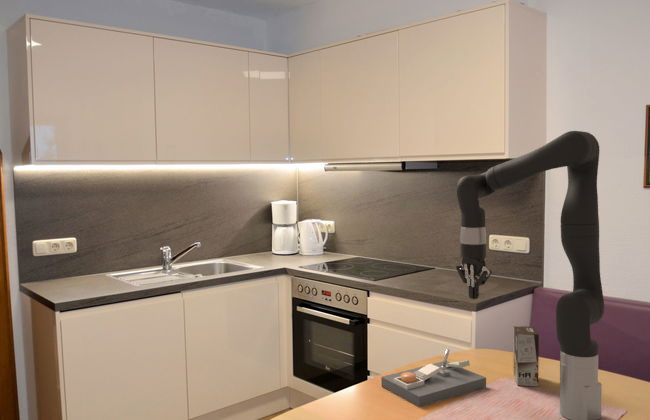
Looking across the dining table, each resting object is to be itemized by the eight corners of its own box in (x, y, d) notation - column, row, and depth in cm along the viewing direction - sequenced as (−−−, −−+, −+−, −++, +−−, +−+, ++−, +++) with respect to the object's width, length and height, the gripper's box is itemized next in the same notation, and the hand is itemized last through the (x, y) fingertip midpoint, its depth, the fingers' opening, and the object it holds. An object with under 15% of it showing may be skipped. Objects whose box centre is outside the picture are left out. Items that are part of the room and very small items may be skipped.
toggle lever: (445, 371, 171) (451, 349, 172) (442, 370, 170) (448, 349, 171) (442, 370, 172) (448, 348, 173) (439, 369, 171) (444, 347, 172)
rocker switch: (440, 371, 168) (439, 366, 168) (423, 381, 165) (422, 377, 164) (430, 366, 172) (429, 362, 171) (413, 376, 168) (412, 372, 168)
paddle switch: (469, 365, 173) (468, 360, 173) (461, 367, 171) (460, 362, 171) (456, 363, 178) (455, 358, 178) (448, 366, 176) (447, 361, 176)
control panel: (486, 387, 168) (486, 373, 168) (419, 407, 155) (419, 392, 155) (445, 369, 184) (445, 356, 184) (381, 386, 171) (381, 372, 171)
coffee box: (539, 386, 168) (539, 334, 166) (516, 385, 169) (516, 333, 168) (534, 375, 176) (534, 326, 175) (513, 374, 178) (512, 325, 177)
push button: (419, 382, 164) (419, 375, 164) (407, 385, 162) (407, 378, 161) (409, 377, 168) (409, 371, 167) (398, 380, 165) (398, 374, 165)
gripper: (499, 242, 163) (499, 301, 164) (466, 238, 174) (467, 293, 176) (480, 245, 159) (480, 304, 160) (448, 240, 171) (449, 296, 172)
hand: (473, 298), depth 168 cm, fingers closed
